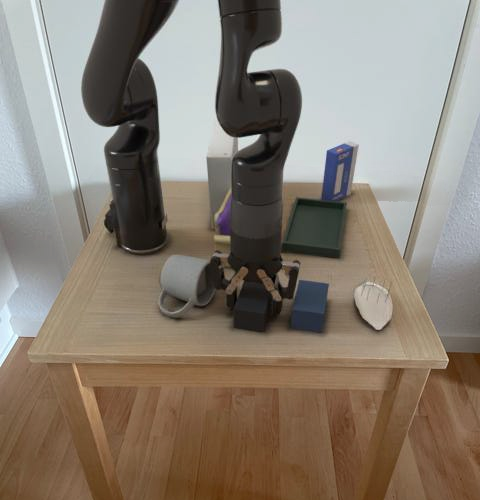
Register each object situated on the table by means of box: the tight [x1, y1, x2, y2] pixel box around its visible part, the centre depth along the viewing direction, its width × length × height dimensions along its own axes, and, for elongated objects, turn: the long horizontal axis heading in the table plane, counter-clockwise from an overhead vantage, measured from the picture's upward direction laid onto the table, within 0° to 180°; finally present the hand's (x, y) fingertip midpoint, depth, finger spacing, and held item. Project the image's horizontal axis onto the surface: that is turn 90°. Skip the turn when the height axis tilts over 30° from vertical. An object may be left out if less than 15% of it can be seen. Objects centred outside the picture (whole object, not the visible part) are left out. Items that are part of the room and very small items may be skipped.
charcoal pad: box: [233, 281, 273, 333], centre depth 81 cm, size 8×5×4 cm, turn 167°
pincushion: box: [353, 277, 394, 331], centre depth 81 cm, size 12×6×6 cm, turn 178°
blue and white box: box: [320, 140, 360, 202], centre depth 109 cm, size 8×3×12 cm, turn 133°
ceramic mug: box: [157, 254, 217, 319], centre depth 82 cm, size 11×8×8 cm
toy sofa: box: [213, 188, 232, 268], centre depth 96 cm, size 21×9×10 cm, turn 168°
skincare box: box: [205, 117, 239, 230], centre depth 105 cm, size 21×6×16 cm, turn 177°
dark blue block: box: [290, 279, 330, 333], centre depth 81 cm, size 8×5×4 cm, turn 167°
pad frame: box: [281, 196, 348, 259], centre depth 102 cm, size 19×11×2 cm, turn 167°
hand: (254, 311), depth 82 cm, fingers open, 6 cm apart
